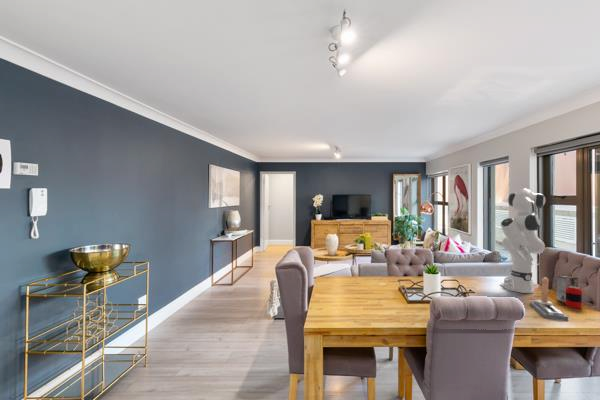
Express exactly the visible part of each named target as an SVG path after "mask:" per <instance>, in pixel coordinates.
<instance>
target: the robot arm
mask: <svg viewBox="0 0 600 400" xmlns="http://www.w3.org/2000/svg"><path fill="white" fill-rule="evenodd" d="M507 202H508V205H509V206H510V207H513V209H514V210H516V212H517V213H516V214H517V215H516V216H515V217H510V218H509V217H508V218H505V219H502V221H501V222H500V226H501V230H502V232H503V234H504V236H505V237H504V238H503V239H502V242H501V244H502V245H501V246H502V247H503V249H504V250H506V251H507V252H508V254H509V255H510V257H511V260H512V269H511V270H509V271H510V275H508V276H505V278H504V279H503V280H504V281H503V282H502V283H501V282H500V284H499V285H500V286H501V287H503V288H504V289H506V290H508V291H511V292H517V293H522V294H534V292H535V288H534V281H533V279H532V278H533V272H532V267H533V261H534V258H533V257H532V254H533V255H534V254H535V255H536V254H540V255H541V254H542V253H544V251H545V249H546V245H545V243H544V241H543V240H541V239H540V238H539V237H538V235H537V233H536V231H538V230H539V228H541V220H540V216H539V213H540V212H539V209H542V208H543V207H544V206H545V204H546V197H545V194H542V193H540V192H539V193H538V192H537V193H535V192H533V191H532V190H530V189H528V188H521V189H519V190H517V192H511V193H510V194H509V195H508V197H507Z"/></svg>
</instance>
